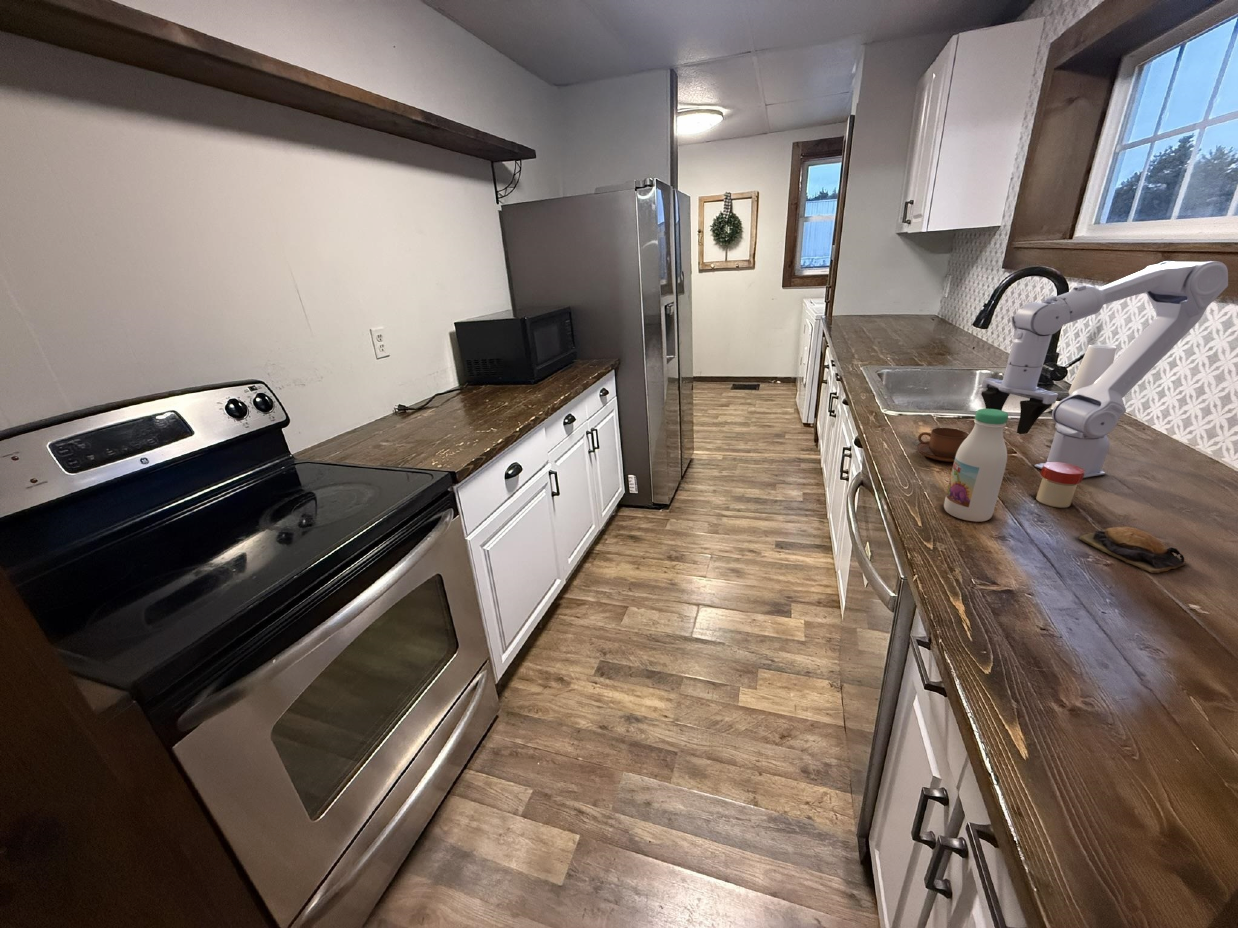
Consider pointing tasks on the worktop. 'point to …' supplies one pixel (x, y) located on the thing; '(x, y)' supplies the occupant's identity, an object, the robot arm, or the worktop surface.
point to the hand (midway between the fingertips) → (1006, 428)
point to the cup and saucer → (942, 443)
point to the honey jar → (1055, 493)
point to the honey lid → (1062, 473)
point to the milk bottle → (978, 468)
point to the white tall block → (1093, 365)
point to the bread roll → (1135, 548)
